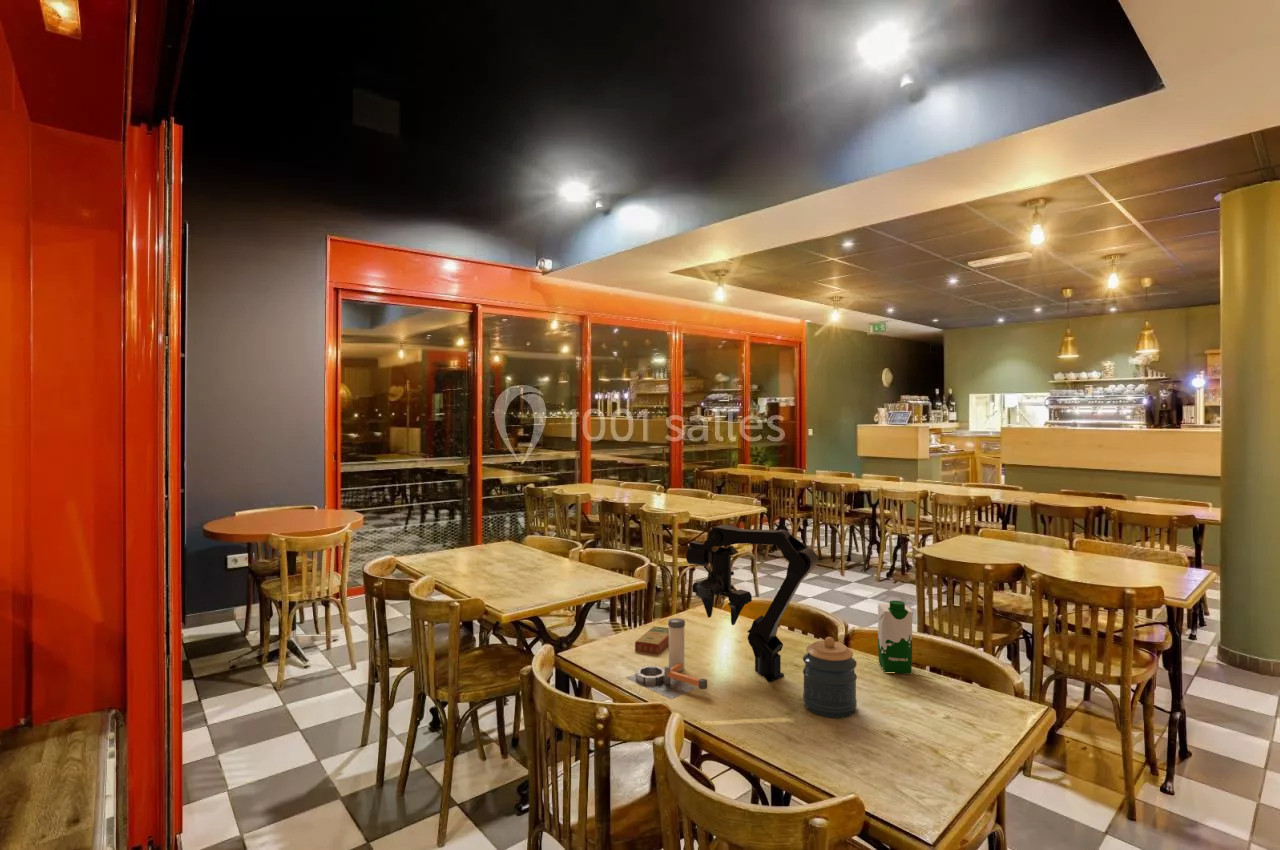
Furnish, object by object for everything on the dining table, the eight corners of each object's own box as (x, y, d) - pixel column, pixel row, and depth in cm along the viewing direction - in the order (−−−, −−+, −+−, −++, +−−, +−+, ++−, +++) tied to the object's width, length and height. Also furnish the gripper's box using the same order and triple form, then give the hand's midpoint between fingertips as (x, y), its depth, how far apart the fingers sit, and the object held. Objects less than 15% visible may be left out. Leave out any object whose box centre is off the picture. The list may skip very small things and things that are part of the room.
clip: (719, 686, 168) (719, 670, 168) (704, 697, 162) (704, 680, 162) (678, 674, 177) (678, 659, 176) (662, 683, 170) (662, 667, 170)
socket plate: (697, 690, 168) (697, 681, 168) (671, 702, 161) (671, 692, 161) (652, 670, 181) (652, 661, 181) (625, 680, 175) (625, 671, 175)
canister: (820, 722, 151) (820, 648, 150) (793, 698, 163) (793, 631, 163) (867, 715, 154) (867, 643, 154) (837, 692, 167) (837, 626, 166)
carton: (634, 654, 195) (634, 640, 195) (653, 637, 210) (653, 624, 210) (659, 658, 192) (659, 644, 192) (677, 640, 207) (677, 627, 207)
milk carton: (883, 674, 178) (883, 604, 178) (874, 662, 187) (874, 595, 187) (915, 676, 177) (915, 605, 177) (905, 663, 186) (905, 596, 186)
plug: (688, 670, 181) (688, 621, 181) (676, 674, 178) (676, 624, 178) (676, 665, 185) (676, 617, 184) (664, 669, 181) (664, 620, 181)
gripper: (679, 566, 187) (679, 619, 187) (727, 579, 173) (727, 635, 173) (704, 561, 194) (704, 611, 194) (752, 572, 180) (752, 626, 180)
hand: (721, 620), depth 185 cm, fingers open, 9 cm apart
